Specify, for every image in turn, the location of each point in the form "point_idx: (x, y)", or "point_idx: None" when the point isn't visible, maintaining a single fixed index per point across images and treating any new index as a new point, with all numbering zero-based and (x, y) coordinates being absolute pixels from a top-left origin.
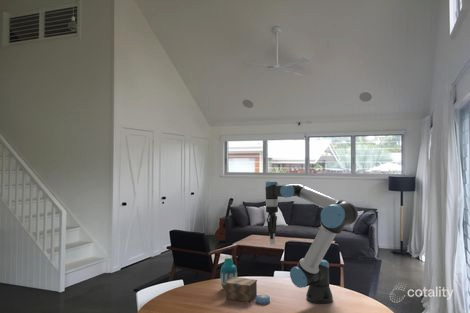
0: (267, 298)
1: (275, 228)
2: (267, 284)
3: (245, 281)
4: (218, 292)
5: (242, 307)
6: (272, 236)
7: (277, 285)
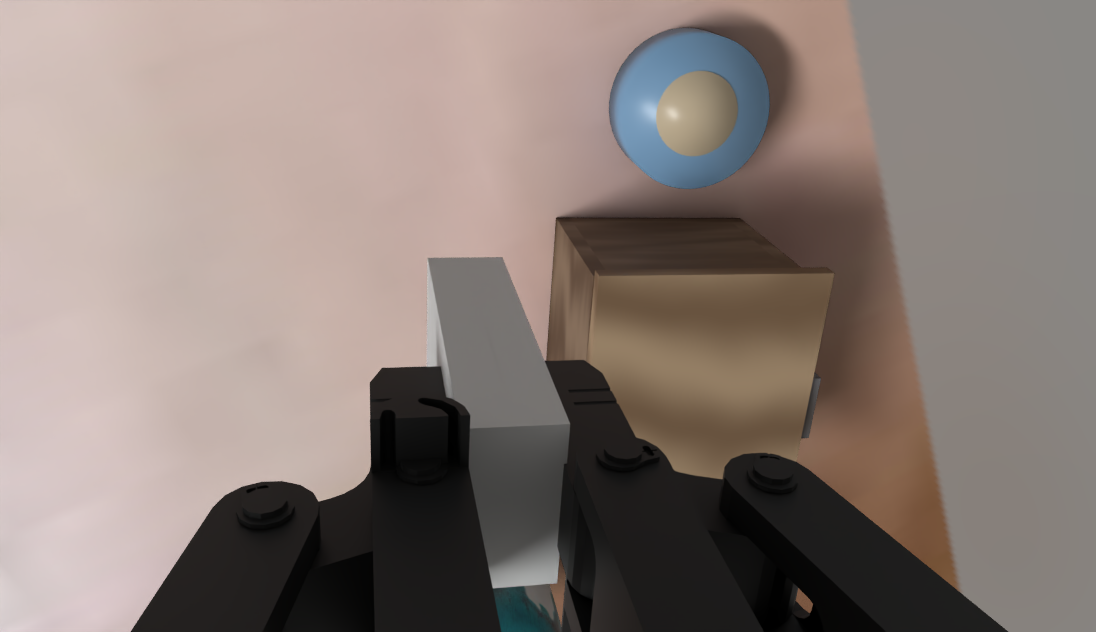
0: (731, 47)
1: (274, 599)
2: (92, 257)
3: (703, 371)
4: None
5: (866, 229)
6: (608, 407)
7: (58, 126)
